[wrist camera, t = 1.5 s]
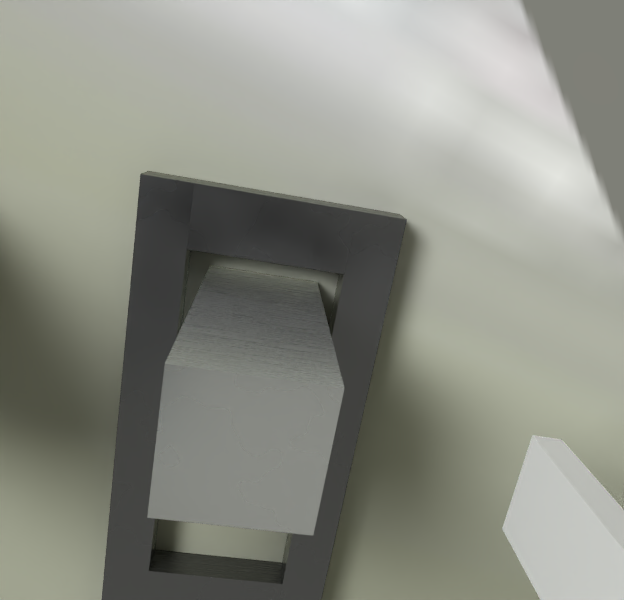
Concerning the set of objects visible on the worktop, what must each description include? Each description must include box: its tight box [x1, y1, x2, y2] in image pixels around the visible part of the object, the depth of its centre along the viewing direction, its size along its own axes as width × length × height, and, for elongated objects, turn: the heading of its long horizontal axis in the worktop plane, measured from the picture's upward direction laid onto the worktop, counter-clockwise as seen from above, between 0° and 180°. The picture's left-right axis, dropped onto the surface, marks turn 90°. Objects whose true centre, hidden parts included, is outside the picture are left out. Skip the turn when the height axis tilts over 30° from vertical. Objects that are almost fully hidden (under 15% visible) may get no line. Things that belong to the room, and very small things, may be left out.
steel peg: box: [147, 265, 344, 536], centre depth 18 cm, size 4×4×9 cm
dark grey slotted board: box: [102, 171, 407, 600], centre depth 24 cm, size 9×26×1 cm, turn 170°
